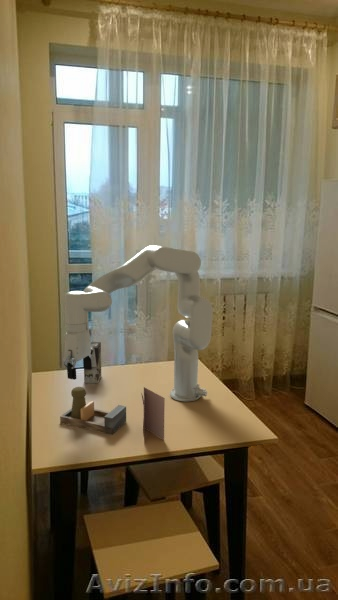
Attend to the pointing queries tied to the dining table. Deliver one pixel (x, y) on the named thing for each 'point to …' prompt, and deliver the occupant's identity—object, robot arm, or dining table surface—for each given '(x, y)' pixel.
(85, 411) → the pusher
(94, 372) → the coffee box
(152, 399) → the greeting card
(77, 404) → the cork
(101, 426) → the lane
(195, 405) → the dining table surface
